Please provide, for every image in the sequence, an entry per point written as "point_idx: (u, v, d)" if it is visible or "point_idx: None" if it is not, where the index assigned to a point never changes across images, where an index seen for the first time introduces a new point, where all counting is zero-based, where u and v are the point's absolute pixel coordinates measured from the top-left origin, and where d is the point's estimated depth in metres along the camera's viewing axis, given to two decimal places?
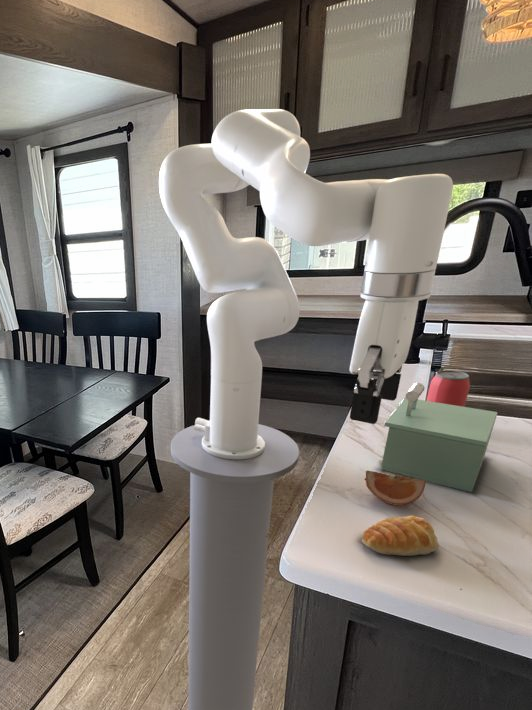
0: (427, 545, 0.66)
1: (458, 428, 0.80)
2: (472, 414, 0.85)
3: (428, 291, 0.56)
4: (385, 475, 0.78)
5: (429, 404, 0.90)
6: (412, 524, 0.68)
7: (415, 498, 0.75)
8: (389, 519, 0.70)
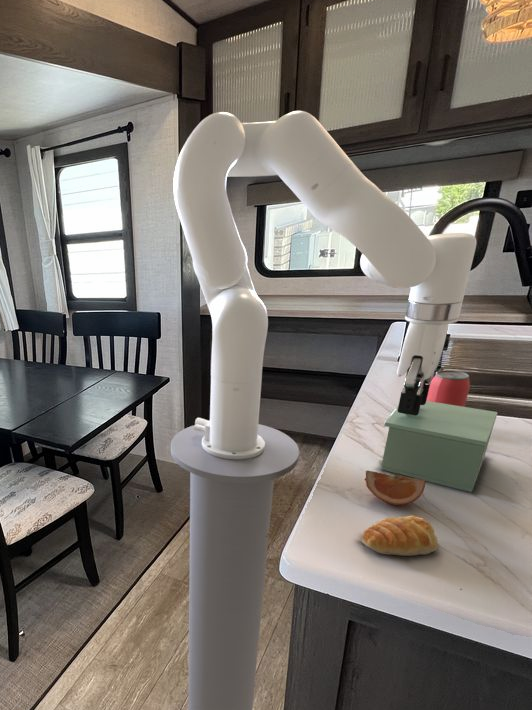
0: (427, 545, 0.66)
1: (458, 428, 0.80)
2: (472, 414, 0.85)
3: (457, 316, 0.77)
4: (385, 475, 0.78)
5: (429, 404, 0.90)
6: (412, 524, 0.68)
7: (415, 498, 0.75)
8: (389, 519, 0.70)
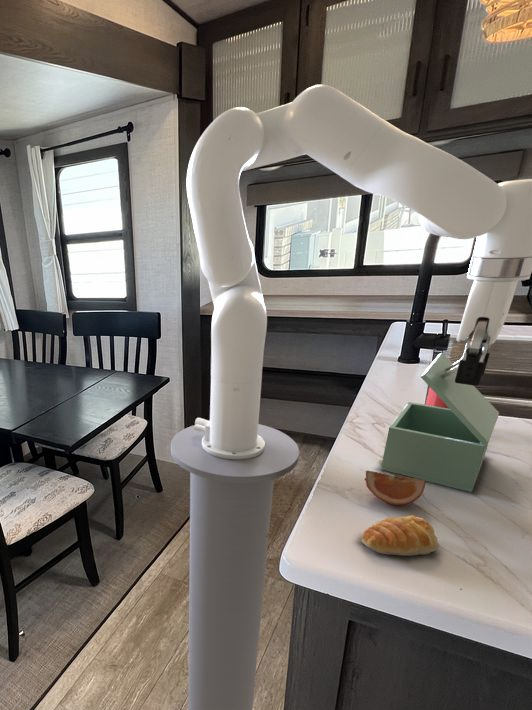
0: (427, 545, 0.66)
1: (473, 416, 0.78)
2: (483, 404, 0.83)
3: (530, 273, 0.70)
4: (385, 475, 0.78)
5: None
6: (412, 524, 0.68)
7: (415, 498, 0.75)
8: (389, 519, 0.70)
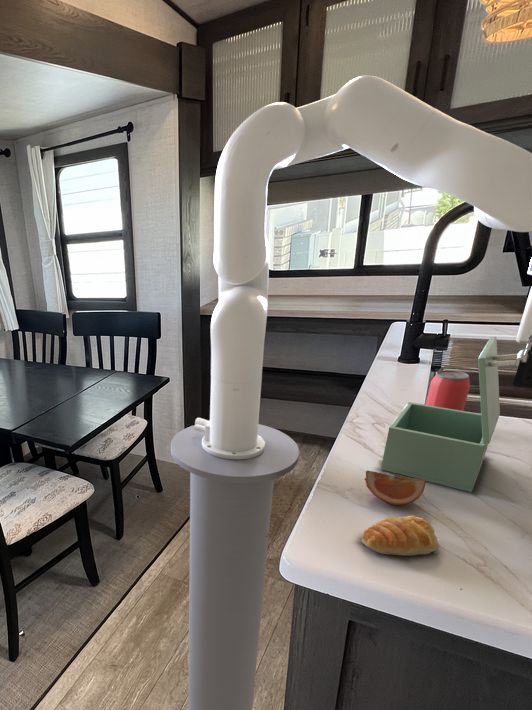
0: (427, 545, 0.66)
1: (490, 413, 0.76)
2: (497, 403, 0.82)
3: None
4: (385, 475, 0.78)
5: None
6: (412, 524, 0.68)
7: (415, 498, 0.75)
8: (389, 519, 0.70)
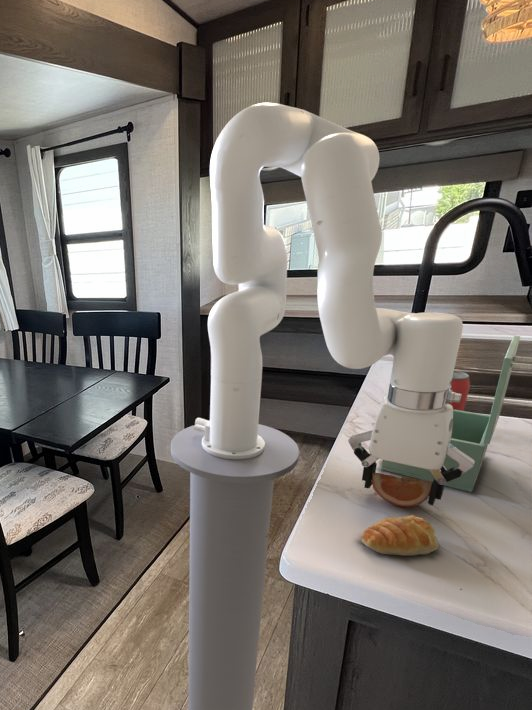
0: (427, 545, 0.66)
1: (497, 414, 0.76)
2: (502, 403, 0.81)
3: (404, 405, 0.70)
4: (392, 477, 0.77)
5: None
6: (412, 524, 0.68)
7: (422, 500, 0.74)
8: (389, 519, 0.70)
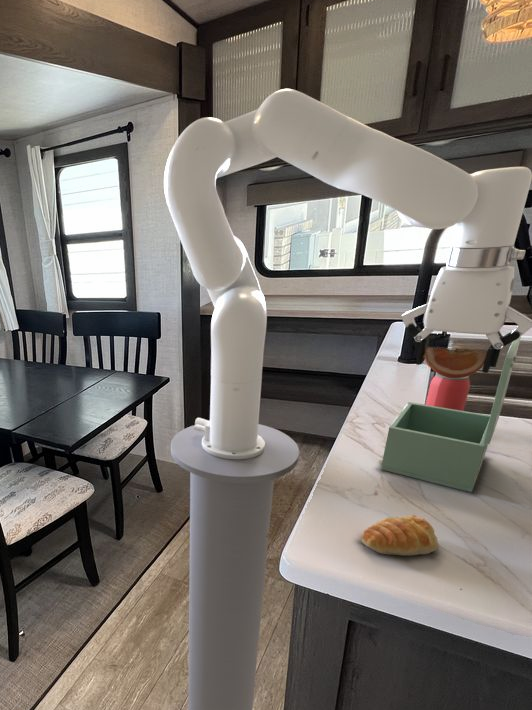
0: (427, 545, 0.66)
1: (498, 414, 0.76)
2: (502, 403, 0.81)
3: (466, 265, 0.70)
4: (445, 349, 0.78)
5: None
6: (412, 524, 0.68)
7: (477, 368, 0.75)
8: (389, 519, 0.70)
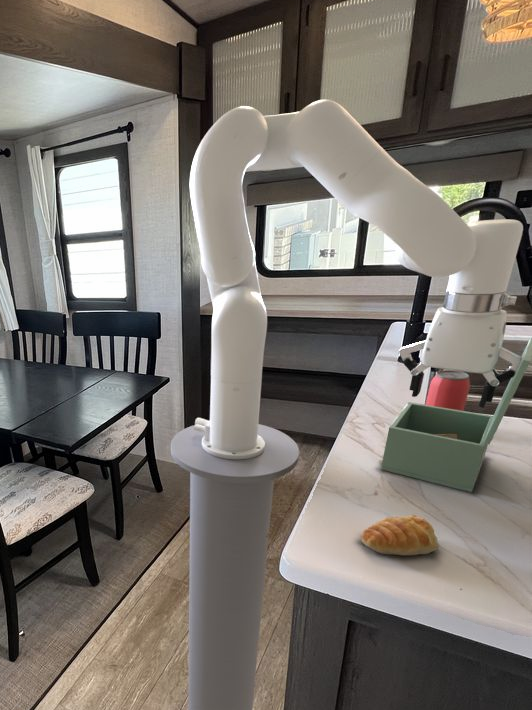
0: (427, 545, 0.66)
1: None
2: None
3: (461, 309, 0.74)
4: None
5: None
6: (412, 524, 0.68)
7: None
8: (389, 519, 0.70)
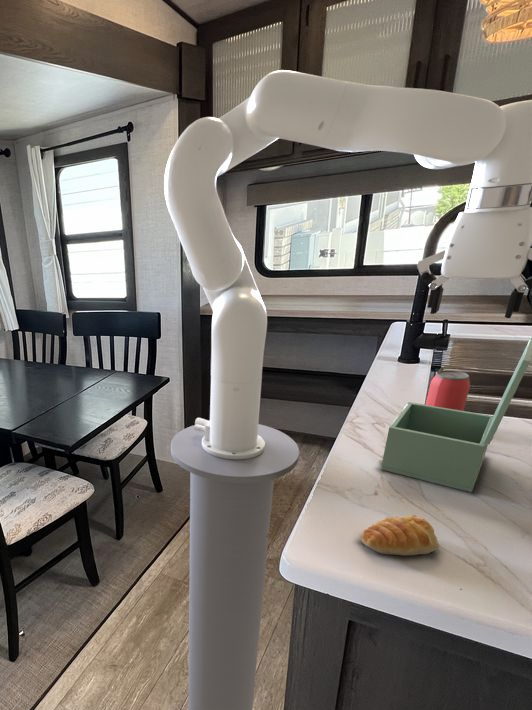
0: (427, 545, 0.66)
1: None
2: None
3: (487, 205, 0.68)
4: None
5: None
6: (412, 524, 0.68)
7: None
8: (389, 519, 0.70)
